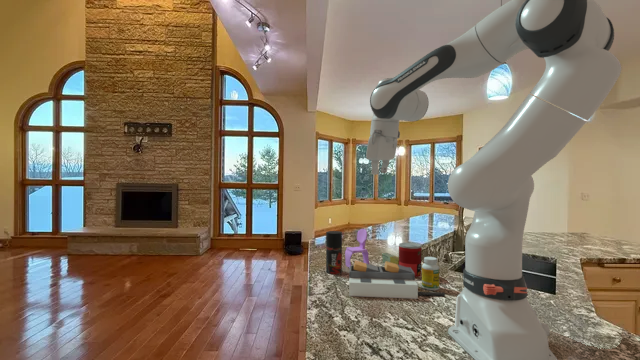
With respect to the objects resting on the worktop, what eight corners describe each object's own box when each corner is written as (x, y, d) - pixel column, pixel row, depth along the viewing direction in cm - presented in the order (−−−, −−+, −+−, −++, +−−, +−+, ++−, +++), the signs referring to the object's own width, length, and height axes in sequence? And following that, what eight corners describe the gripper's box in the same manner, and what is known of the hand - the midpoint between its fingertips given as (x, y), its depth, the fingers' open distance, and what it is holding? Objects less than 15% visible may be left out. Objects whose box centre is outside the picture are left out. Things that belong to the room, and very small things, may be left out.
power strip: (447, 299, 91) (447, 279, 91) (349, 295, 94) (349, 275, 94) (436, 285, 103) (436, 267, 103) (349, 282, 106) (349, 265, 106)
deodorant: (328, 274, 115) (328, 233, 115) (324, 270, 121) (324, 231, 121) (344, 273, 116) (344, 233, 116) (338, 269, 122) (338, 230, 122)
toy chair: (343, 265, 128) (343, 228, 128) (363, 263, 131) (363, 227, 131) (351, 270, 120) (351, 231, 120) (372, 268, 123) (372, 230, 123)
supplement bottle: (426, 283, 105) (426, 255, 105) (442, 287, 101) (442, 258, 101) (418, 287, 101) (418, 258, 101) (434, 292, 97) (434, 261, 97)
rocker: (376, 278, 99) (378, 271, 98) (353, 271, 99) (355, 264, 99) (375, 273, 103) (377, 266, 103) (353, 267, 104) (355, 260, 104)
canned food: (422, 278, 111) (422, 247, 111) (399, 276, 113) (399, 246, 113) (420, 272, 118) (420, 243, 118) (398, 270, 120) (398, 242, 120)
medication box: (381, 262, 133) (381, 253, 133) (387, 261, 134) (387, 252, 134) (398, 270, 122) (398, 259, 122) (404, 269, 123) (404, 259, 123)
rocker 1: (409, 279, 97) (411, 272, 97) (385, 272, 98) (387, 265, 98) (406, 274, 102) (408, 267, 102) (383, 267, 103) (385, 260, 103)
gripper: (384, 129, 91) (379, 176, 92) (401, 133, 109) (396, 173, 110) (363, 128, 94) (359, 174, 95) (383, 132, 112) (379, 171, 113)
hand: (379, 173), depth 103 cm, fingers open, 8 cm apart
